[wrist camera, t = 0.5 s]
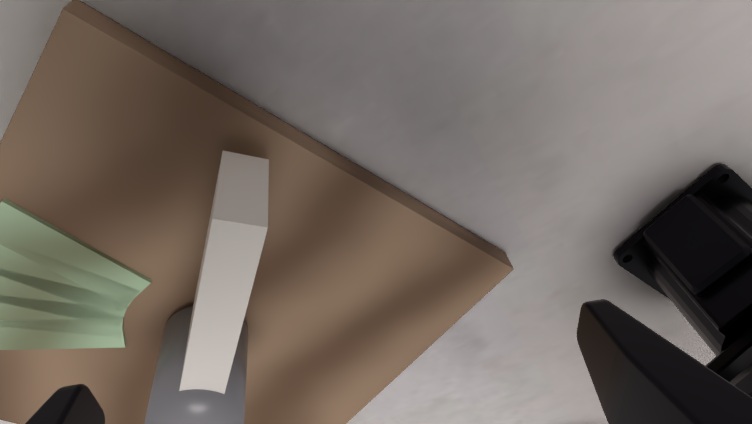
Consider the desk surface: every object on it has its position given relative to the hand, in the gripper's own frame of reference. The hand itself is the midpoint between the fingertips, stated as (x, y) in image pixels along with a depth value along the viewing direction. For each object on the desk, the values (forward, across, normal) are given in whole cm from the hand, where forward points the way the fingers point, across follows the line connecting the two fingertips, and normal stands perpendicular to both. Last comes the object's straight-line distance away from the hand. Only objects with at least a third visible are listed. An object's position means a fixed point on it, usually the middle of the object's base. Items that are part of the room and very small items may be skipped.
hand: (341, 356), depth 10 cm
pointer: (+11, +5, +6) cm, 14 cm away
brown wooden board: (+12, +7, +10) cm, 17 cm away
